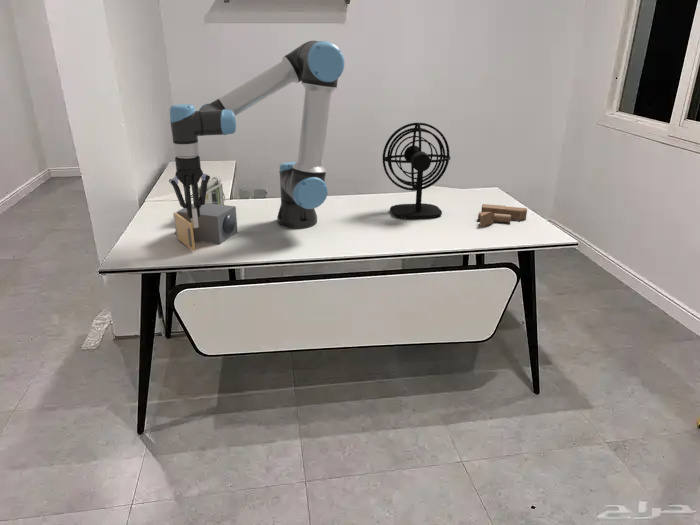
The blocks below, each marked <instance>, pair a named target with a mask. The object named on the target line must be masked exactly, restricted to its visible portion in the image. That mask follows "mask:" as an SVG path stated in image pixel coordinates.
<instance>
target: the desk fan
mask: <svg viewBox="0 0 700 525" xmlns="http://www.w3.org/2000/svg"><path fill="white" fill-rule="evenodd" d="M412 126H414V127H412ZM421 126H425V127H429V128H431V129H433V130H434V131H436V132H437V133H438V134H439V136H440V137H441V138H442V140H443V142H444V144H443V142H442V141H441V139H440V138H439V137H438V136H437V135H436V134H435V133H433V132H432V131H430V130H428V129H426V128H423V127H421ZM409 127H412V128H409ZM402 130H403V131H402ZM417 132H418V135H417ZM422 133H427V134H430V135H431V136H432V137H433V138H434V139H435V140H436V142H437V143H438V147H439V151H440V153H438V151H437V148H436V147H435V146H434V145H433V144H432V143H431V142H429V141H428V140H427V139H426V138H424V137H422ZM409 134H413V135H412V136H411V135H409ZM407 135H409V136H408V137H406V136H407ZM404 137H405V138H404ZM403 138H404V139H403ZM411 138H412V141H410V142H408V143H407V144H406V145H405V146H404V147H403V148H402V150H401V151H400V154H397V153H398V149H399V148H400V146H401V145H402V144H403V143H404V142H405V141H407V140H408V139H411ZM416 138H418V139H416ZM401 139H403V140H401ZM399 141H400V142H399ZM416 142H418V146H417V145H416ZM422 142H424V143H427V144H428V147H429V149H430V154H429V153H426V152H425V151H422ZM397 144H398V145H397ZM411 144H412V145H411ZM396 145H397V147H396ZM444 145H445V147H444ZM395 147H396V148H395ZM445 148H446V149H445ZM387 149H388V150H387ZM433 149H434V151H435V153H433V152H434V151H433ZM394 150H395V153H394V155H392V154H393V151H394ZM386 152H387V153H386ZM386 155H387V156H386ZM397 158H398V159H397ZM402 158H404V160H403V159H402ZM433 158H436V159H433ZM450 160H451V156H450V147H449V143H448V140H447V139H446V137H445V136H444V134H443V133H442V132H441V131H440V130H439V129H438V128H437V127H435V126H433V125H431V124H430V123H429V124H428V123H425V122H411V123H408V124H405V125H403V126H401V127H399V128H398V129H396V130H395V131H394V132H393V133H392V134H391V135H390V136H389V137H388V139H387V141H386V143H385V145H384V148H383V152H382V167H383V170H384V172H385V174H386V176H387V178H388V179H389V180H390V181H391V182H392V184H394V185H395V186H396V187H398V188H400V189H403V190H405V191H414V192H416V193H415V194H416V197H415V203H401V204H395V205H392V206H390V208H389V212H390V213H391V214H392V216H394V217H396V218H401V219H429V218H430V219H431V218H437V217H439V216H441V215H443V211H442V210H441V208H440V207H439V206H437V205H435V204H431V203H422V197H423V196H422V195H423V190H425V189H427V188H430V187H431V186H433V185H434V184H436V183H437V182H438V181H439V180H441V178H442V177H443V175H444V174H445V172H446V170H447V168H448V166H449V163H450ZM386 162H387V165H388V168H389V171H390V172H391V174H392V175H393V176H394V178H396V180H397V181H399V182H400V183H402V184H403V185H406V186H403V185H401V184H399V183H398V182H396V181H395V180H394V179H393V178H392V177H391V176H390V174H389V172H388V169H387V165H386ZM392 163H395V164H396V166H397V167H398V169H400V170H401V171H402V173H403V175H404V176H407V178H410V179H411V181H409V180H404V179H402V178H400V177H399V176H398V175H397V174H396V172H395V171H394V169H393V166H392ZM432 163H435V165H434V167H433V169H432V170H431V171H430V172H429V173H427V174H426V175H424V172H426V171H427V170H428V169H429V168H430V167H431V164H432ZM402 164H410V166H411V168H410V169H411V170H410V172H409V171H406V170H404V169H403V166H402ZM415 170H416V171H415ZM414 171H415V172H414ZM409 174H410V175H409ZM415 175H416V177H415ZM415 180H416V181H415ZM407 186H409V187H407Z"/></svg>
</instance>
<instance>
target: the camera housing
mask: <svg viewBox="0 0 700 525" xmlns="http://www.w3.org/2000/svg"><path fill="white" fill-rule="evenodd" d="M193 206H194V203H192V207H193ZM199 209H200V217H198V226H199V227H198V228H193V234H194V242H200V243H201V242H202V243H208V244H215V245H221V244H223V243H225V242H227V240H229V239H231V238H233V237H234V236H235V235H237V234H238V233H239V231H238V220H237V208H236V205H235V206H233V205H228V204H227V205H226V204H224V205H219V204H210V203H205V204H204V205H201V206H200V208H199ZM176 212H177V214H179V215H180V216H182V217H183V218H184V219H186V220H187V221H189V222H190V223H191V218H189V217H188V216H187V208H183V207H182V208H181V209H179V210H177V211H176Z"/></svg>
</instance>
